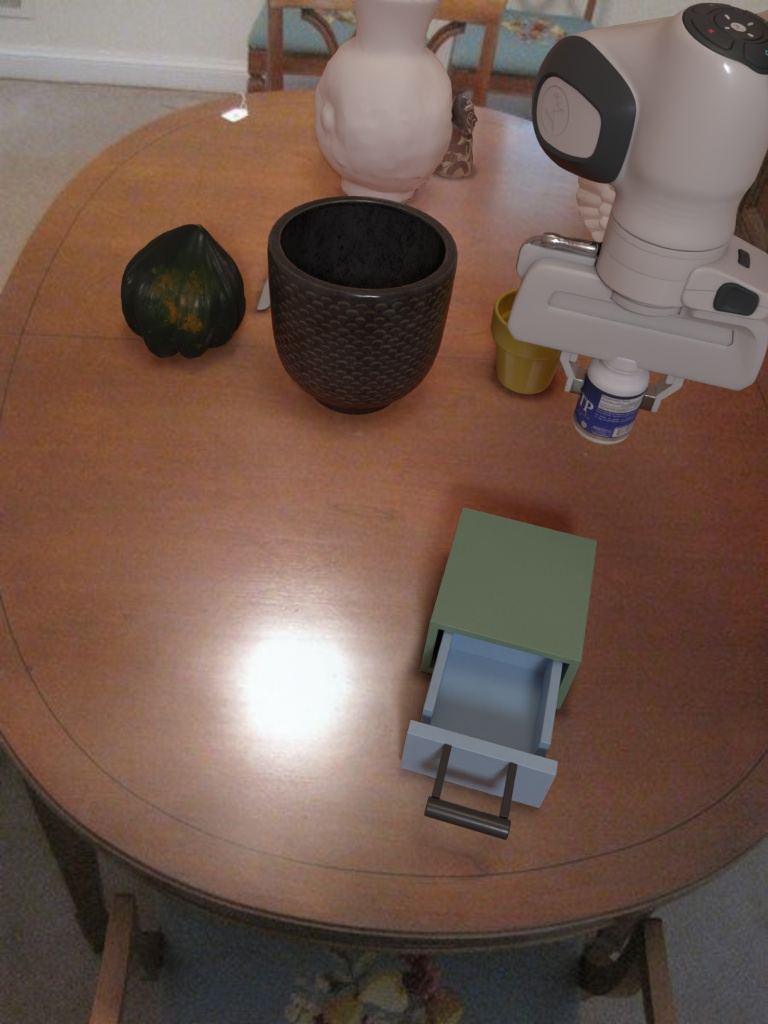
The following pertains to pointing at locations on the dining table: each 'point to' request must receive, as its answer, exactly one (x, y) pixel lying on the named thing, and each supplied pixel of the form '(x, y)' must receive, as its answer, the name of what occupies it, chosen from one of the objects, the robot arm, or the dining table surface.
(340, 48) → the vase
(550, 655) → the green drawer cabinet
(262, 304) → the butter knife
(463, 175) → the figurine
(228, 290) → the squash
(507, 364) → the flower pot
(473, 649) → the cabinet drawer
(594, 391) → the pill bottle
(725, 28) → the robot arm
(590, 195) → the cherub figurine
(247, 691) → the dining table surface
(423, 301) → the planter
